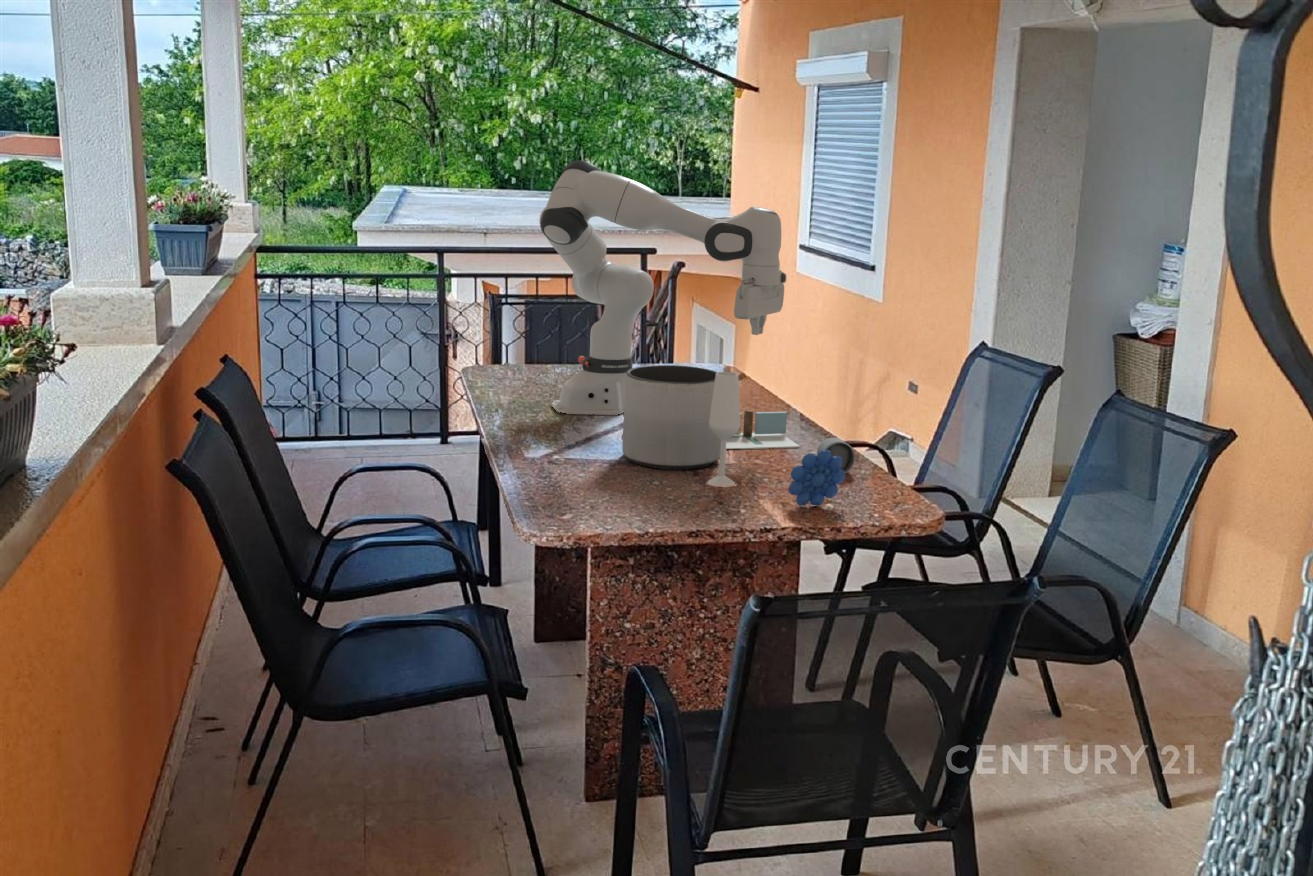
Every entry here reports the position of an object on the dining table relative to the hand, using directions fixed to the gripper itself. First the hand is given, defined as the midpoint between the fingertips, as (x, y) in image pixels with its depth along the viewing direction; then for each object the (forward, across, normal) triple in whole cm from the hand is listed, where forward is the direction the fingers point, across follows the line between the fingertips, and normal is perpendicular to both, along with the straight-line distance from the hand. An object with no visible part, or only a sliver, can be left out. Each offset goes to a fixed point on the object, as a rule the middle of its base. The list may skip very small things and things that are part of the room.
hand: (757, 334), depth 295 cm
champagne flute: (+27, -39, -12) cm, 48 cm away
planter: (+27, -27, +8) cm, 39 cm away
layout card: (+27, 0, +1) cm, 27 cm away
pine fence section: (+27, 0, +7) cm, 28 cm away
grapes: (+27, -41, -34) cm, 60 cm away
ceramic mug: (+27, -14, -26) cm, 40 cm away
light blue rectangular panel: (+26, +8, -1) cm, 27 cm away
